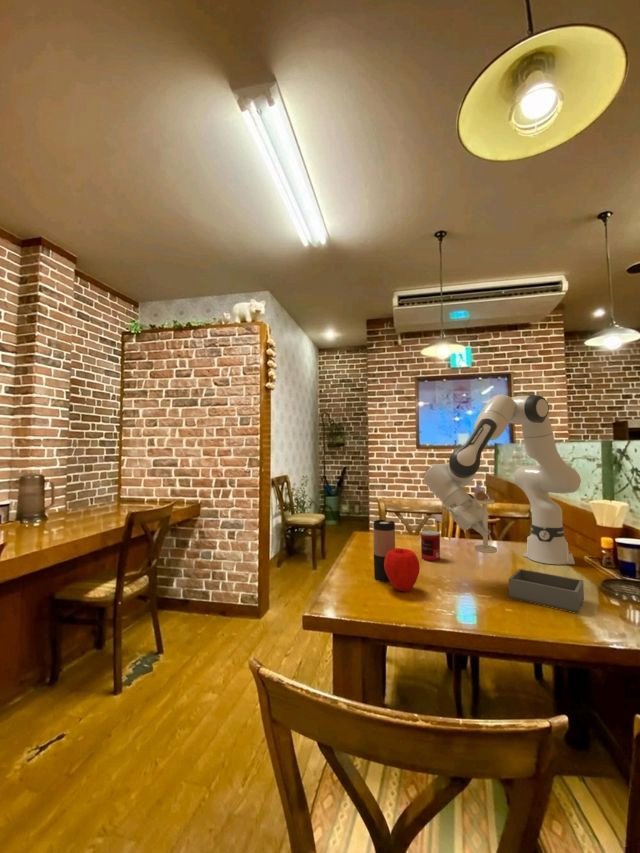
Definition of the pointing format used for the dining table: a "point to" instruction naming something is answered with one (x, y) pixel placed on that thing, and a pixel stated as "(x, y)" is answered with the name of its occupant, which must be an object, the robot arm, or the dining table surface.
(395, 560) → the apple
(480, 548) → the pedestal dish
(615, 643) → the dining table surface
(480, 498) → the ball
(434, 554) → the canned food
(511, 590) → the tray
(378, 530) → the travel mug
